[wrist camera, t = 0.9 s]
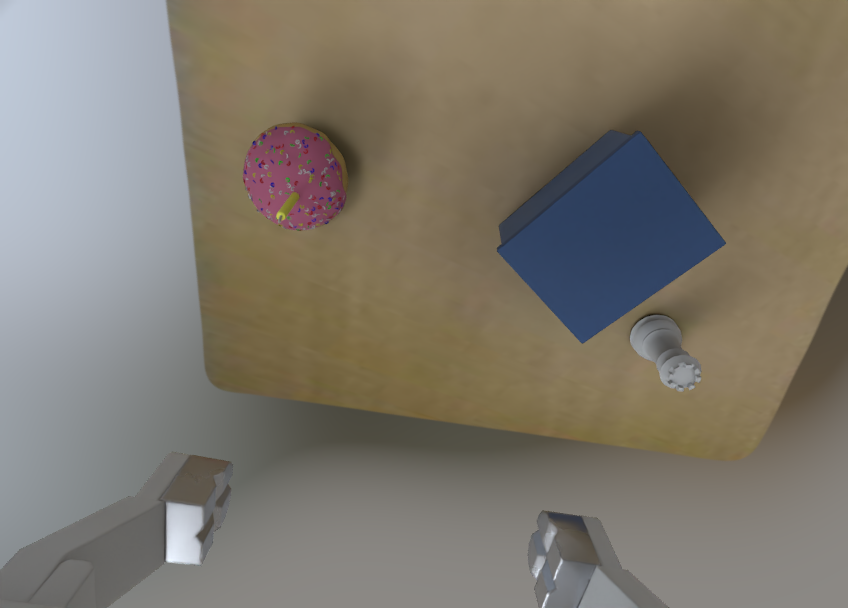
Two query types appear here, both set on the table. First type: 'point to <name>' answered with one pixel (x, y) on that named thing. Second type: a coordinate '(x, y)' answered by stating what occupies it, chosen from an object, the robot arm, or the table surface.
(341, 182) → the cupcake
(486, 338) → the table surface
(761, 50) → the table surface
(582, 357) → the table surface
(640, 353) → the rook chess piece
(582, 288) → the blue box
